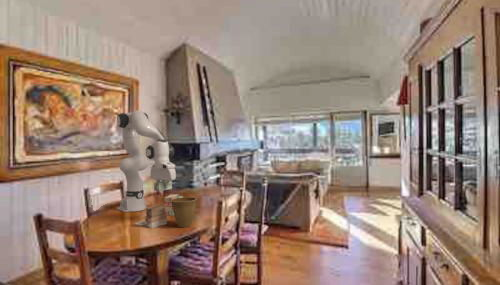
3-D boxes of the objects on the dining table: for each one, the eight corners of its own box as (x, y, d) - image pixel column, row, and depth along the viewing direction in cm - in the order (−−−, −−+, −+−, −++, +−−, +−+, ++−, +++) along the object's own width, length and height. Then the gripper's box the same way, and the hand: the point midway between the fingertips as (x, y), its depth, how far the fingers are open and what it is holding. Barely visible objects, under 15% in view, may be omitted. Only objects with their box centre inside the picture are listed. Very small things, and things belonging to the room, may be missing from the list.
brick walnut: (146, 216, 190) (146, 208, 190) (160, 213, 198) (159, 205, 198) (151, 217, 187) (151, 209, 187) (165, 214, 196) (165, 206, 195)
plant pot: (201, 223, 195) (201, 197, 194) (187, 230, 181) (187, 202, 181) (181, 221, 201) (181, 196, 201) (166, 227, 187) (165, 200, 187)
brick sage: (154, 190, 199) (153, 182, 198) (166, 188, 207) (166, 180, 207) (159, 191, 196) (159, 183, 196) (172, 188, 204) (171, 180, 204)
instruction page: (133, 223, 197) (133, 223, 197) (146, 220, 204) (146, 220, 204) (140, 225, 193) (140, 225, 193) (153, 222, 200) (153, 221, 200)
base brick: (145, 226, 190) (145, 216, 190) (160, 222, 199) (160, 212, 199) (151, 228, 187) (151, 218, 187) (166, 223, 196) (166, 214, 196)
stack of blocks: (175, 208, 239) (175, 191, 239) (183, 208, 238) (183, 192, 238) (164, 215, 218) (164, 197, 217) (173, 215, 217) (172, 197, 217)
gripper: (147, 165, 204) (148, 186, 204) (169, 166, 193) (170, 188, 193) (155, 164, 209) (156, 185, 210) (177, 165, 198) (177, 187, 198)
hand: (163, 187), depth 201 cm, fingers closed on brick sage, 5 cm apart
